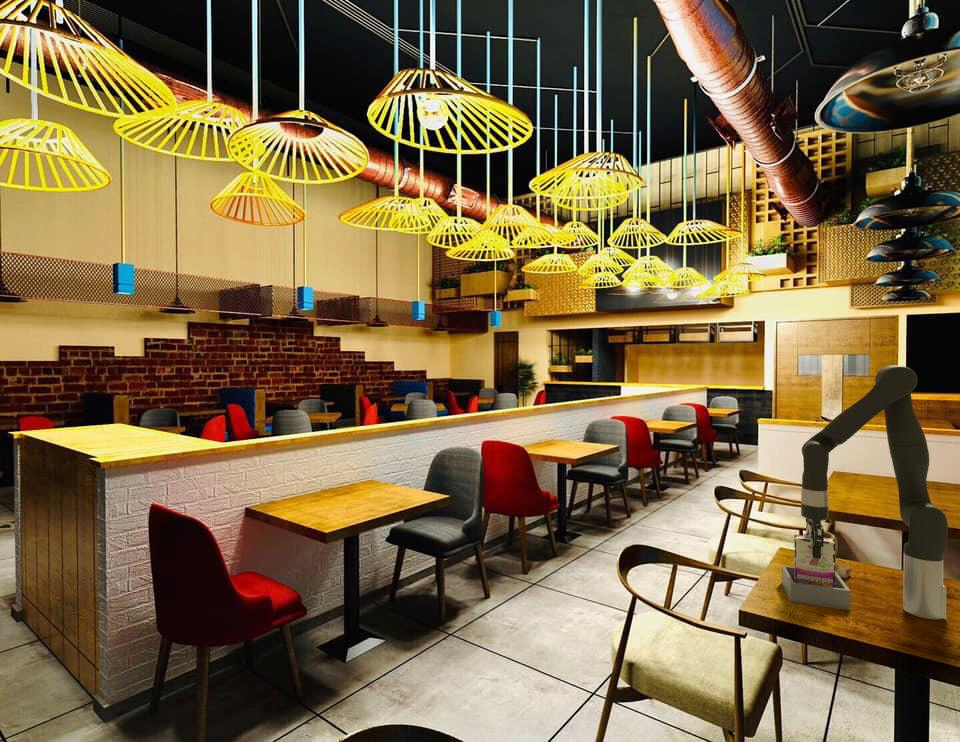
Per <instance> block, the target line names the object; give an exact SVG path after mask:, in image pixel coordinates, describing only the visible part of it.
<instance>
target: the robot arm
mask: <svg viewBox="0 0 960 742" xmlns="http://www.w3.org/2000/svg"><path fill="white" fill-rule="evenodd" d="M874 378H875V379H874V383H875V384H874V386H872V388H871V389H870V390H869V391H868V392H867V393H866V394H865V395H864V396H863V397H861V398H860V399H859V400H858V401H855V403H853V404H852V405H850V406H849V407H847V408H845V409H844V410H843V411H842V412H840V413H839V414H838V415H836V416H835V417H834V418H833V419H832V420H831V421H830V422H829V423H828V424H826V425H825V426H824V428H823V429H822V430H820V431H819V432H818V431H817V433H815V434H814V435H813V436H811V437H810V438H809V439H808V440H807V441H805V443H804V444H803V445H802V447H801V454H802V457H803V460H802V461H803V472H802V476H801V477H802V478H801V485H802V486H801V493H800V496H801V497H800V502H801V503H800V515H801V516H802V517H803V518H805V529H806V533H805V534H806V535H807V536H810V538H811V539H812V556H813V558H817V559H820V558H821V547H823V546H824V545H823V542H824V531H825V529H824V526H823V524H822V521H827V520H828V519H829V506H830V505H829V503H830V502H829V491H828V486H829V485H828V482H829V481H828V470H829V461H830V457H829V456H830V453H831V452H832V451H833V450H835V448H837V447H838V446H840V445H843V444H845V443H846V442H847V441H848V440H849V439H851V438H852V437H853V436H854V435H856V433H858V431H860V430H861V429H862V428H864V426H865V425H867V424H868V423H869V422H870V421H871V420H872V419H874V418H875V417H876V416H877V415H878V414H879V413H881V412H882V411H883V412H884V413H883V414H884V419H885V420H884V421H885V429H886V436H887V443H888V448H889V449H888V450H889V453H890V459H891V462H892V466H893V472H894V475H895V479H896V483H897V490H898V503H899V504H898V506H899V515H900V518H901V520H902V522H903V523H904V524H905V526H907V527H908V528H909V529H908V540H907V542H905V543H904V545H903V577H902V578H903V582H902V583H903V586H902V587H903V589H902V590H903V591H902V592H903V595H902V596H903V598H902V604H903V605H902V606H903V607H902V608H903V610H904V611H905V612H906V613H908V614H910V615H912V616H916V617H918V618H922V619H926V620H947V587H946V585H944V556H945V553H946V551H947V548H948V547H947V544H948V533H949V532H948V530H949V529H948V523H949V522H948V518H947V515H946V514H945V513H944V511H943V510H941V509H939V508H938V507H936V506H934V505H933V504H932V500H931V498H930V495H929V490H928V485H927V477H928V473H929V472H928V471H929V467H930V453H929V448H928V443H927V438H926V435H925V432H924V430H923V428H922V425H921V422H920V421H919V419H918V417H917V415H916V412H915V410H914V406H913V402H912V401H913V400H912V392H913V391H914V390H915V389H916V388H917V385H918V376H917V374H916V372H915V371H914V370H913V369H911V368H909V367H907V366H904V365H895V364H894V365H893V364H891V365H886V366H884V367H882V368H880V369H879V370H878V371H877V372H876V375H875V377H874ZM816 540H819V543H818V542H816Z"/></svg>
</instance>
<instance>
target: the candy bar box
mask: <svg viewBox="0 0 960 742" xmlns="http://www.w3.org/2000/svg"><path fill="white" fill-rule="evenodd" d="M793 537H794V539H793V541H794V542H793V543H794V544H793V545H794V547H793V548H794V550H793V551H794V553H793V554H794V557H793V558H794V567H795V583H802V584H809V585H817V586H825V587H833V588H835V562H836V561H835V542H834V540H833V539H829V538H824V542H823V545H824V546H823V547H821V558H820V559H817V558H813V556H812V539H811V538H810V536H804V535H802V534H794V536H793ZM816 542H818V543H819V540H816Z"/></svg>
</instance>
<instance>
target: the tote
mask: <svg viewBox="0 0 960 742" xmlns="http://www.w3.org/2000/svg"><path fill="white" fill-rule="evenodd" d="M781 585H782V587H783V589H784V591H785V594H786V596H787V598H788V601H789V602H790V603H793V604H795V603H796V604H801V605H809V606H816V607H823V608H828V609H836V610H837V609H838V610H844V611H851V590H850V587H849V586H847V585H846V583H845V582H844V580H843V578H840V576H839V575H838V574H837V572H835V588H833V587H825V586H817V585H809V584H802V583H795V566H789V565H781Z"/></svg>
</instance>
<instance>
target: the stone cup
mask: <svg viewBox="0 0 960 742" xmlns="http://www.w3.org/2000/svg"><path fill="white" fill-rule="evenodd" d="M803 536H807V535H806V533H804V535H803ZM824 538H829V539H833V540H834V542H835V572H837V574H838V575H839V576H840V578H841V579H848V577H850V574H851V573H852V570H853V569H852V567H851V566H846V565H840V564H837V562H836V560H837V555H838V550H839V544H838V539H837V537H836V536H835V535H834V534H833V533H831V532H829V531H825V530H824Z"/></svg>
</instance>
